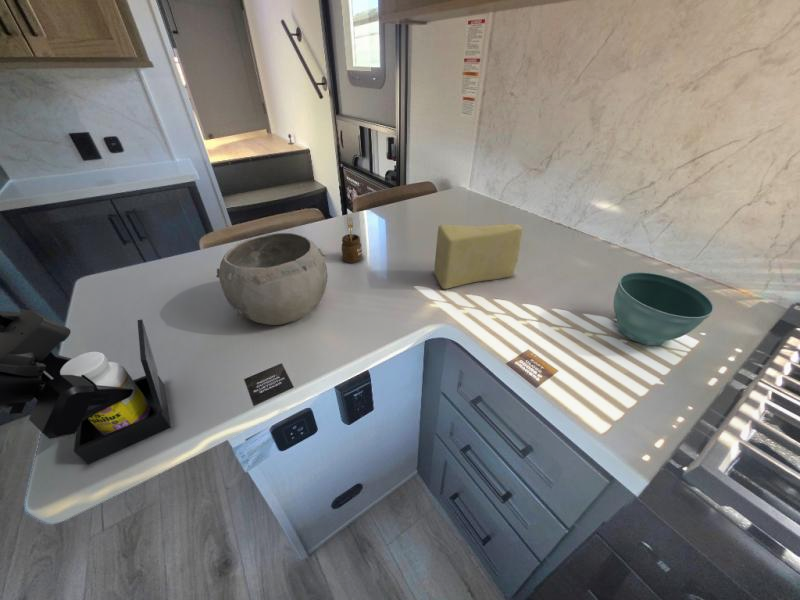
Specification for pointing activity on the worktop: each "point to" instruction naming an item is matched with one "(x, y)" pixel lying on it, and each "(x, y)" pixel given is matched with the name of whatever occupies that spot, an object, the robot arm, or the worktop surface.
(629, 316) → the teal green bowl
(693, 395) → the worktop surface
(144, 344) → the lid
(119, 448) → the black open box
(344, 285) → the worktop surface
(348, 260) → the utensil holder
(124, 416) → the supplement bottle
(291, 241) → the bowl
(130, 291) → the worktop surface
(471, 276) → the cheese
